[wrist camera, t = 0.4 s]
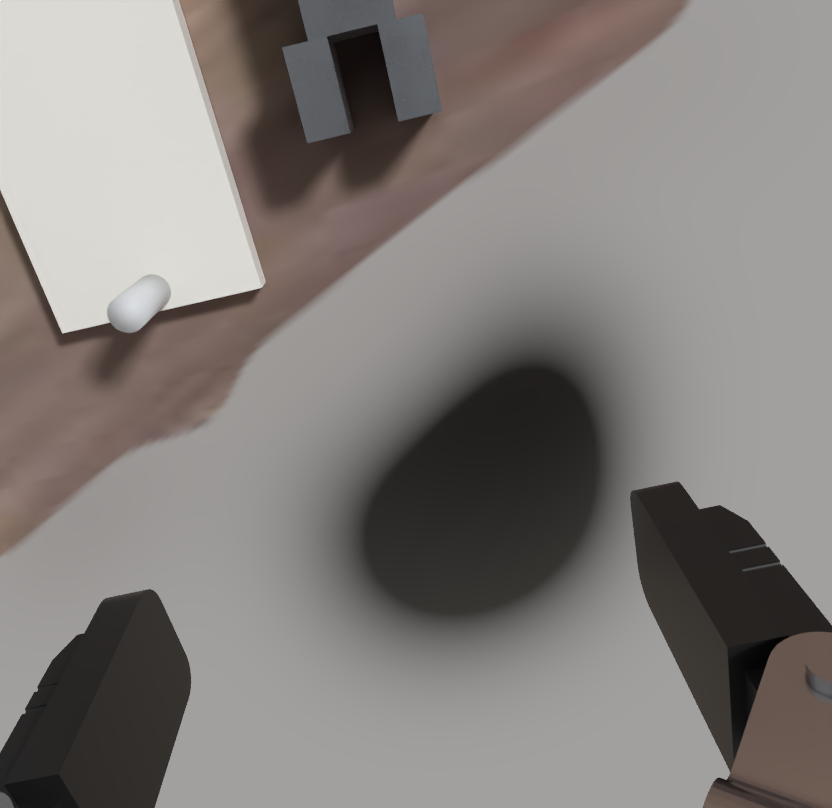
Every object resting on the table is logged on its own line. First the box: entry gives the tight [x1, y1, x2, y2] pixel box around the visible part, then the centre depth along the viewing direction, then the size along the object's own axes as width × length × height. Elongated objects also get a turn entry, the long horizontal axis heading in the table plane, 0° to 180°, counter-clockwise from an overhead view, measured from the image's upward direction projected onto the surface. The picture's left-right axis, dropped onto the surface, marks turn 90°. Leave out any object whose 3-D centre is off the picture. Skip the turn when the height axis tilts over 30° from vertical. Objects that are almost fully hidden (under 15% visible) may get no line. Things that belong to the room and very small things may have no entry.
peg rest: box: [0, 0, 266, 334], centre depth 29 cm, size 24×10×5 cm, turn 12°
